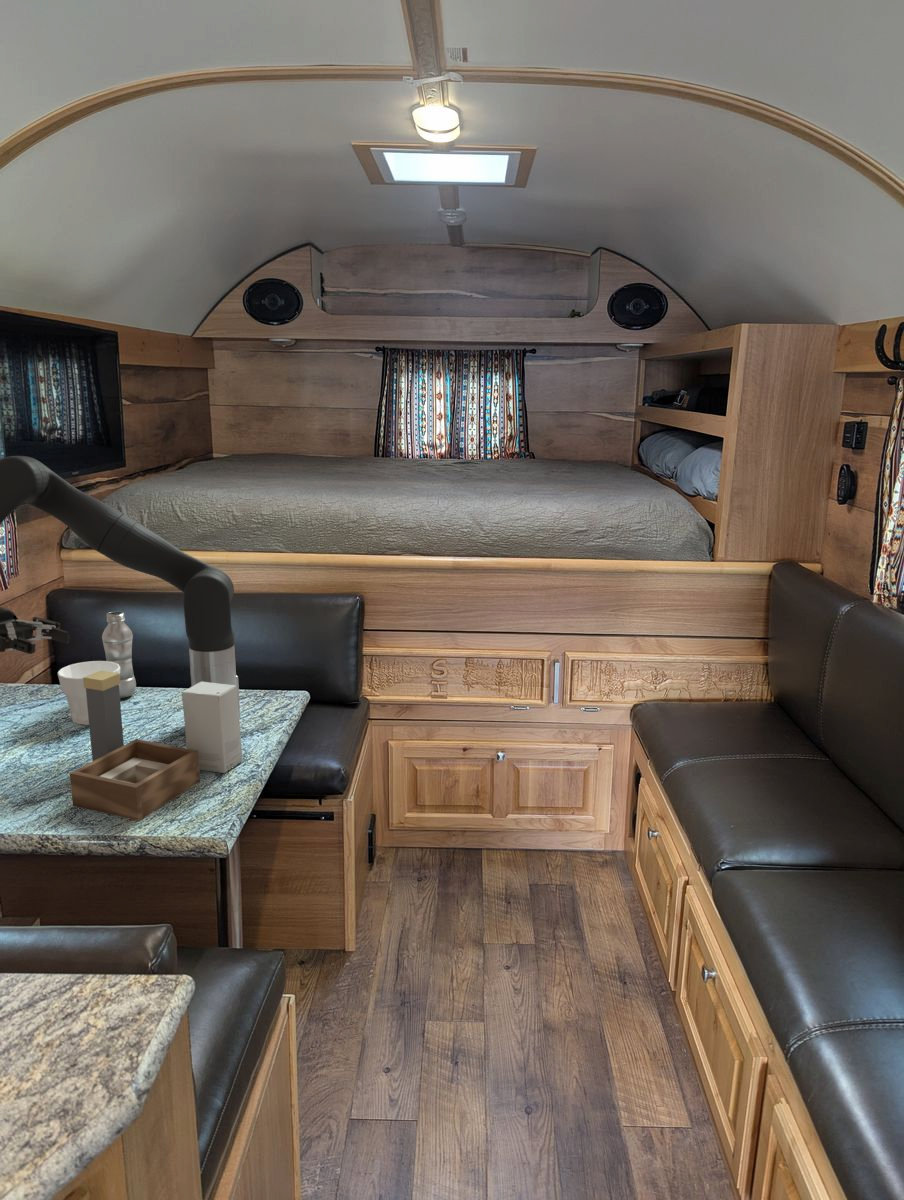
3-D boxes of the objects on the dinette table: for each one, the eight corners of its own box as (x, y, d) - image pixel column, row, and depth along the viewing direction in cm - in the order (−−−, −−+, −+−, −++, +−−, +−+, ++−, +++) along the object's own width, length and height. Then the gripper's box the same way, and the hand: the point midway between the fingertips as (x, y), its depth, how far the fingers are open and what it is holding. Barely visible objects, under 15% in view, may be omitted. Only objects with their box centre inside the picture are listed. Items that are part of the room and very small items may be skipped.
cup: (53, 716, 182) (49, 668, 180) (111, 703, 191) (107, 657, 188) (73, 733, 174) (68, 682, 171) (133, 719, 182) (129, 670, 179)
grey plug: (108, 759, 161) (100, 670, 157) (126, 763, 160) (119, 673, 156) (91, 768, 157) (83, 677, 153) (109, 772, 156) (102, 680, 152)
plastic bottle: (105, 693, 197) (98, 611, 192) (136, 690, 200) (130, 609, 195) (106, 702, 191) (99, 618, 187) (138, 699, 194) (131, 615, 189)
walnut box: (138, 769, 157) (136, 739, 156) (200, 781, 152) (198, 751, 151) (72, 805, 143) (69, 773, 141) (138, 821, 138) (136, 787, 136)
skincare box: (243, 761, 161) (239, 684, 158) (223, 775, 155) (219, 696, 152) (206, 755, 164) (202, 679, 160) (185, 768, 158) (180, 690, 154)
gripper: (-49, 610, 153) (22, 632, 149) (14, 597, 166) (80, 616, 162) (-50, 649, 155) (20, 672, 150) (12, 632, 168) (78, 653, 164)
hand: (51, 643), depth 156 cm, fingers open, 8 cm apart
